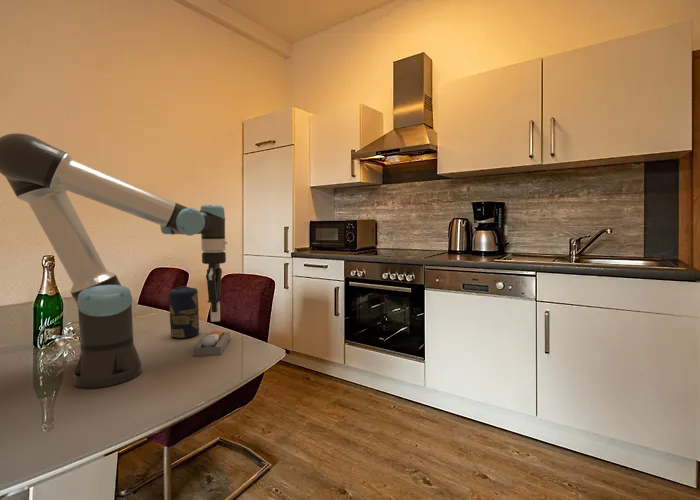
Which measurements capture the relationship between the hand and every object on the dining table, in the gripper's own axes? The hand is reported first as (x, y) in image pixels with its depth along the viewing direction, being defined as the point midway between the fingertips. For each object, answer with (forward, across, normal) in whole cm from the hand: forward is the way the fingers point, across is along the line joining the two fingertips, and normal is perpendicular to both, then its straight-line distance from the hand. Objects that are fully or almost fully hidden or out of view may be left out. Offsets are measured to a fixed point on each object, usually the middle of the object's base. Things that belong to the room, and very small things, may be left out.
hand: (215, 320), depth 125 cm
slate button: (+5, -11, 0) cm, 12 cm away
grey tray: (+7, -5, 0) cm, 9 cm away
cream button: (+6, -5, 0) cm, 8 cm away
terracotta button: (+6, 0, 0) cm, 6 cm away
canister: (+8, +10, +13) cm, 18 cm away
